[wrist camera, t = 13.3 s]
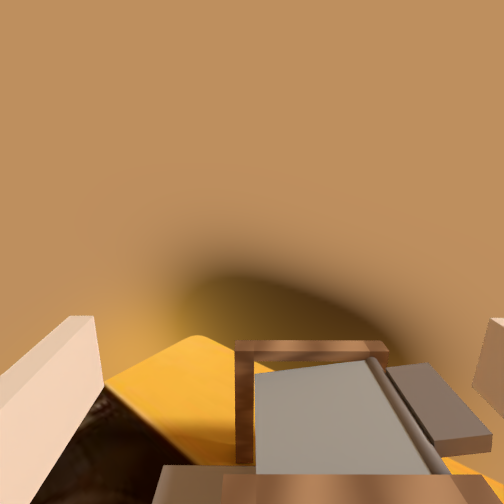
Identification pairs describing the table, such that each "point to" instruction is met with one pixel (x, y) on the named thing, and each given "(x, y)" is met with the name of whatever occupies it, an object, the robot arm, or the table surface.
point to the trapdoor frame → (329, 485)
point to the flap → (362, 421)
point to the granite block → (194, 483)
